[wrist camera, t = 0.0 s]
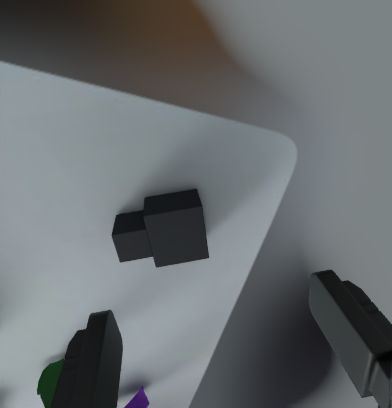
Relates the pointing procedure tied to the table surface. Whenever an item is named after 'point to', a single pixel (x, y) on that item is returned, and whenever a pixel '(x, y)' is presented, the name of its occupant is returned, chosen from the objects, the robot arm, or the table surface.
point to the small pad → (163, 230)
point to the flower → (50, 379)
